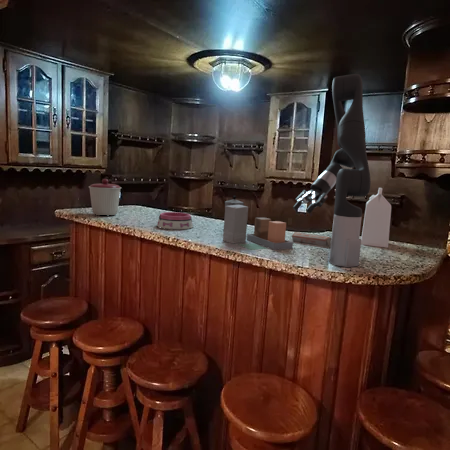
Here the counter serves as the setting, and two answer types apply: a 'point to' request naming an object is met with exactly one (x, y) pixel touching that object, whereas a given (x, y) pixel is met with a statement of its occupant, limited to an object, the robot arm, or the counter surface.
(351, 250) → the robot arm
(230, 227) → the skincare box
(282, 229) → the terracotta carton
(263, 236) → the walnut block
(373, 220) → the milk
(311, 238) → the packaged product
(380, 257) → the counter surface
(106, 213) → the canister
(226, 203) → the coffeepot
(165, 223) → the dog bowl
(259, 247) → the green mat
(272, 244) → the grey bin
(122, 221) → the counter surface
